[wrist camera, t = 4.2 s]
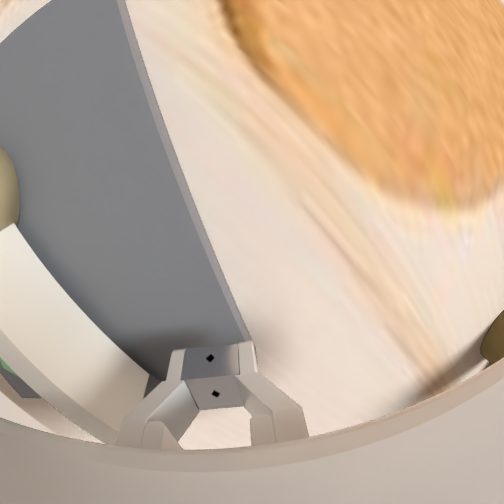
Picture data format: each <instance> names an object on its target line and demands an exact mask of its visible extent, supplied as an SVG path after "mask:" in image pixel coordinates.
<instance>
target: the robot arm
mask: <svg viewBox="0 0 504 504" xmlns="http://www.w3.org/2000/svg"><path fill="white" fill-rule="evenodd" d="M241 406H244V407H245V408H246V410H247V411H248V412H249V413H250V414H251V415H252V416H253V417H252V418H251V419H250V431H251V446H248V447H238V448H225V449H206V450H183V449H182V447H181V446H180V445H179V443H178V441H179V440H180V438H181V437H182V436H183V434H184V433H185V431H186V430H187V429H188V427H189V426H190V424H191V423H192V421H193V420H194V419H195V417H196V416H197V414H198V413H199V410H207V409H217V408H229V407H241ZM0 504H504V357H503V358H502V359H500V360H499V361H497V362H496V363H494V364H493V365H491V366H489V367H488V368H486V369H484V370H483V371H481V372H479V373H478V374H476V375H474V376H472V377H471V378H469V379H467V380H465V381H463V382H461V383H459V384H458V385H456V386H454V387H452V388H450V389H448V390H446V391H444V392H441V393H439V394H437V395H435V396H433V397H431V398H428V399H426V400H424V401H422V402H419V403H417V404H415V405H412V406H410V407H407V408H405V409H402V410H399V411H397V412H394V413H391V414H389V415H386V416H383V417H380V418H377V419H374V420H371V421H368V422H365V423H361V424H358V425H355V426H351V427H348V428H344V429H340V430H336V431H333V432H329V433H324V434H320V435H316V436H311V437H309V435H308V430H307V426H306V422H305V418H304V414H303V410H302V407H301V406H300V405H299V404H297V403H296V402H295V401H294V400H292V399H291V398H290V397H289V396H288V395H286V394H285V393H284V392H283V391H282V390H280V389H279V388H278V387H277V386H276V385H274V384H273V383H272V382H271V381H270V380H269V379H268V378H266V377H265V376H264V375H263V374H262V373H261V372H258V366H257V361H256V356H255V351H254V345H253V341H245V342H239V343H234V344H227V345H219V346H212V347H200V348H188V349H177V350H173V352H172V354H171V358H170V363H169V368H168V372H167V377H166V381H162V382H161V383H160V384H159V385H158V386H157V387H156V388H155V389H154V390H153V391H152V392H150V393H149V394H148V395H147V396H146V397H145V398H144V399H143V400H142V401H141V402H140V403H139V404H138V405H137V406H136V407H135V408H134V409H133V410H132V411H131V412H129V413H128V414H127V415H126V416H125V417H124V418H123V419H122V423H121V427H120V430H119V434H118V438H117V442H116V446H114V445H107V444H100V443H94V442H88V441H83V440H77V439H72V438H68V437H63V436H59V435H55V434H51V433H47V432H43V431H40V430H36V429H33V428H29V427H26V426H23V425H20V424H17V423H14V422H11V421H8V420H6V419H3V418H0Z"/></svg>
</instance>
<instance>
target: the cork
mask: <svg viewBox="0 0 504 504" xmlns="http://www.w3.org/2000/svg"><path fill="white" fill-rule="evenodd" d="M480 353H481V354H482V356H483V357H484V358H486V359H487V360H488V361H489V362H490V363H491V364H494V363H496V362H497V361H499V360H500V359H502V358H503V357H504V311H503V312H502V313H501V314H500V315H499V316H498V318H497V319H496V320H495V321H494V323H493V324H492V326H491V327H490V329H489V330H488V332H487V334H486V336H485V338H484V340H483V342H482V345H481V352H480Z"/></svg>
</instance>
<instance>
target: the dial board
mask: <svg viewBox="0 0 504 504" xmlns="http://www.w3.org/2000/svg"><path fill="white" fill-rule="evenodd" d="M0 146H1V147H2V148H3V149H4V150H5V151H6V152H7V154H8V155H9V157H10V159H11V161H12V163H13V165H14V168H15V171H16V175H17V179H18V184H19V191H20V211H19V218H18V222H17V226H16V227H17V228H18V230H19V231H20V233H21V234H22V236H23V237H24V239H25V240H26V242H27V243H28V245H29V246H30V247H31V249H32V250H33V252H34V253H35V254H36V256H37V257H38V258H39V260H40V261H41V262H42V264H43V265H44V266H45V267H46V269H47V270H48V271H49V273H50V274H51V275H52V276H53V278H54V279H55V280H56V281H57V282H58V284H59V285H60V286H61V287H62V288H63V290H64V291H65V292H66V293H67V294H68V295H69V297H70V298H71V299H72V300H73V301H74V302H75V303H76V304H77V306H78V307H79V308H80V309H81V310H82V311H83V312H84V313H85V314H86V315H87V316H88V317H89V318H90V320H91V321H92V322H93V323H94V324H95V325H96V326H97V327H98V328H99V329H100V330H101V331H102V332H103V333H104V334H105V335H106V336H107V337H108V338H109V339H110V340H111V341H112V342H114V343H115V344H116V345H117V346H118V347H119V348H120V349H121V350H122V351H123V352H124V353H125V354H126V355H128V356H129V357H130V358H131V359H132V360H133V361H134V362H135V363H137V364H138V365H139V366H140V367H141V368H142V369H144V370H145V371H146V372H147V373H148V374H152V375H153V376H154V377H155V378H156V379H158V380H159V381H160V382H162V381H166V377H167V372H168V368H169V363H170V358H171V354H172V352H173V350H177V349H188V348H200V347H212V346H219V345H227V344H234V343H239V342H245V341H252V339H251V337H250V335H249V332H248V330H247V328H246V326H245V323H244V321H243V319H242V317H241V314H240V312H239V310H238V307H237V305H236V303H235V300H234V298H233V296H232V293H231V291H230V289H229V286H228V284H227V282H226V279H225V277H224V275H223V272H222V270H221V267H220V265H219V263H218V260H217V258H216V255H215V253H214V250H213V248H212V246H211V243H210V241H209V238H208V236H207V233H206V231H205V228H204V226H203V223H202V221H201V218H200V216H199V213H198V211H197V208H196V206H195V203H194V200H193V198H192V195H191V193H190V190H189V188H188V185H187V182H186V180H185V177H184V174H183V172H182V169H181V166H180V164H179V161H178V158H177V156H176V153H175V150H174V148H173V145H172V142H171V139H170V137H169V134H168V131H167V128H166V126H165V123H164V120H163V117H162V114H161V111H160V109H159V106H158V103H157V100H156V97H155V94H154V91H153V88H152V85H151V82H150V79H149V76H148V73H147V70H146V67H145V64H144V61H143V58H142V55H141V52H140V49H139V46H138V42H137V39H136V36H135V33H134V30H133V26H132V23H131V20H130V16H129V13H128V10H127V6H126V3H125V0H51V1H50V2H49V3H47V4H46V5H45V6H43V7H42V8H41V9H39V10H38V11H37V12H35V13H34V14H33V15H32V16H30V17H29V18H28V19H27V20H26V21H24V22H23V23H22V24H21V25H20V26H19V27H17V28H16V29H15V30H14V31H13V32H12V33H11V34H10V35H9V36H8V37H7V38H5V39H4V40H3V41H2V42H1V43H0ZM253 345H254V344H253ZM254 351H255V356H256V349H255V346H254ZM256 361H257V357H256ZM0 373H1V374H2V376H3V377H4V378H5V379H6V380H7V381H8V383H9V384H10V385H11V386H12V387H13V388H14V389H15V391H16V392H17V393H18V394H19V395H20V396H21V397H22V398H42V397H41V396H40V395H39V394H37V393H36V392H35V391H34V390H33V389H32V388H31V387H30V386H29V385H27V384H26V383H25V382H24V381H23V380H22V379H21V378H20V377H19V376H18V375H17V374H16V373H15V372H14V371H13V370H12V369H11V368H10V367H9V366H8V365H7V364H6V363H5V362H4V361H3V360H2V359H1V357H0Z"/></svg>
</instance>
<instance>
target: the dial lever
mask: <svg viewBox="0 0 504 504" xmlns="http://www.w3.org/2000/svg"><path fill="white" fill-rule="evenodd" d="M19 211H20V191H19V184H18V179H17V175H16V171H15V168H14V165H13V163H12V161H11V159H10V157H9V155H8V154H7V152H6V151H5V150H4V149H3V148H2V147H1V146H0V357H1V359H2V360H3V361H4V362H5V363H6V364H7V365H8V366H9V367H10V368H11V369H12V370H13V371H14V372H15V373H16V374H17V375H18V376H19V377H20V378H21V379H22V380H23V381H24V382H25V383H26V384H27V385H29V386H30V387H31V388H32V389H33V390H34V391H35V392H36V393H37V394H39V395H40V396H41V397H42V398H43V399H44V400H46V401H47V402H48V403H49V404H50V405H52V406H53V407H54V408H55V409H57V410H58V411H59V412H60V413H62V414H63V415H64V416H66V417H67V418H68V419H70V420H71V421H72V422H74V423H75V424H77V425H78V426H79V427H81V428H82V429H84V430H85V431H87V432H88V433H90V434H91V435H93V436H94V437H96V438H97V439H99V440H100V441H102V442H103V443H105V444H107V445H114V446H116V442H117V438H118V434H119V430H120V427H121V423H122V419H123V418H124V417H125V416H126V415H127V414H128V413H129V412H131V411H132V410H133V409H134V408H135V407H136V406H137V405H138V404H139V403H140V402H141V401H142V400H143V399H144V398H145V397H146V396H147V395H148V394H149V393H150V392H152V391H153V390H154V389H155V388H156V387H157V386H158V385H159V384H160V383H161V382H160V381H159V380H158V379H156V378H155V377H154V376H153V375H152V374H148V373H147V372H146V371H145V370H144V369H142V368H141V367H140V366H139V365H138V364H137V363H135V362H134V361H133V360H132V359H131V358H130V357H129V356H128V355H126V354H125V353H124V352H123V351H122V350H121V349H120V348H119V347H118V346H117V345H116V344H115V343H114V342H112V341H111V340H110V339H109V338H108V337H107V336H106V335H105V334H104V333H103V332H102V331H101V330H100V329H99V328H98V327H97V326H96V325H95V324H94V323H93V322H92V321H91V320H90V318H89V317H88V316H87V315H86V314H85V313H84V312H83V311H82V310H81V309H80V308H79V307H78V306H77V304H76V303H75V302H74V301H73V300H72V299H71V298H70V297H69V295H68V294H67V293H66V292H65V291H64V290H63V288H62V287H61V286H60V285H59V284H58V282H57V281H56V280H55V279H54V278H53V276H52V275H51V274H50V273H49V271H48V270H47V269H46V267H45V266H44V265H43V264H42V262H41V261H40V260H39V258H38V257H37V256H36V254H35V253H34V252H33V250H32V249H31V247H30V246H29V245H28V243H27V242H26V240H25V239H24V237H23V236H22V234H21V233H20V231H19V230H18V228H17V227H16V226H17V222H18V218H19Z"/></svg>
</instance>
